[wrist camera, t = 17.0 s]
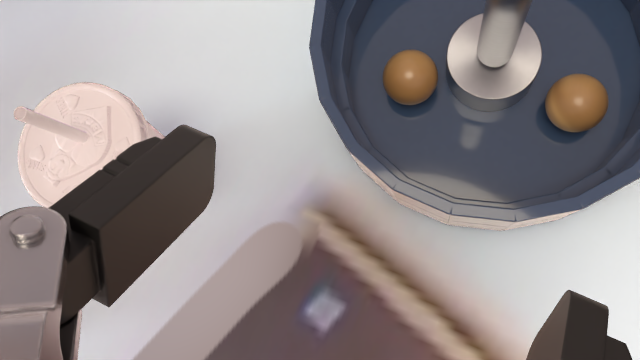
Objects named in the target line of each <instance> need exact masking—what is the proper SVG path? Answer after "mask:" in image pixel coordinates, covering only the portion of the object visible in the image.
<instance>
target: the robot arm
mask: <svg viewBox="0 0 640 360" xmlns="http://www.w3.org/2000/svg"><path fill="white" fill-rule="evenodd" d="M215 152H216V142H215V139H214V137H212V136H210V135H208V134H205V133H203V132H201V131H198V130H196V129H194V128H191V127H189V126H187V125H181V126H179V127H177V128H176V129H175V130H173V131H172V132H171V133H170V134H168V135H167V136H166V137H165V138H163V139H160V138H158V137H156V136H155V137H152V138H149V139H146V140H144V141H141V142H138V143H135V144H133V145H131V146H130V147H129V148H127V149H126V150H125V151H123V152H122V153H121V154H119V155H118V156H117V157H116V159H115V160H114V159H113V160H112V161H110V162H109V163H108V164H106V165H105V166H104V167H103V169H102V170H98V171H97V172H96V173H94V174H93V175H92V176H90V177H89V178H88V179H86V180H85V181H84V182H82V183H81V184H80V185H78V186H77V187H76V188H74V189H73V190H72V191H70V192H69V193H68V194H66V195H65V196H64V197H62V198H61V199H60V200H58V201H57V202H56V203H55V204H53V205H52V206H50V207H49V208H46V207H34V206H33V207H24V208H19V209H16V210H13V211H10V212H8V213H6V214H4V215H3V216H1V217H0V360H77V358H78V348H79V339H80V329H81V319H82V310H81V309H82V308H83V307H84V306H85V305H86V304H87V303H88V302H89V301H90V300H91V299H94V300H96V301H98V302H100V303H102V304H104V305H106V306H108V307H110V306H111V305H112V304H113V303H114V302H115V301H116V300H117V299H118V298H119V297H120V296H121V295H122V294H123V293H124V292H125V291H126V290H127V289H128V288H129V287H130V286H131V285H132V284H133V282H134V281H135V280H136V279H137V278H138V277H139V276H140V275H141V274H142V273H143V272H144V271H145V270H146V269H147V268H148V267H149V266H150V265H151V264H152V263H153V262H154V261H155V260H156V259H157V258H158V257H159V256H160V255H161V254H162V253H163V252H164V251H165V250H166V249H167V248H168V247H169V246H170V245H171V244H172V243H173V242H174V241H175V240H176V239H177V238H178V237H179V236H180V235H181V234H182V233H183V232H184V230H185V229H186V228H187V227H188V226H189V225H190V224H191V223H192V222H193V221H194V220H195V219H196V218H197V217H198V216H199V215H200V214H201V213H202V212H203V211H204V210H205V208H206V207H207V205H208V203H209V201H210V199H211V196H212V193H213V189H214V172H215ZM608 315H609V310H608V307H607V306H606V305H604V304H601V303H599V302H597V301H594V300H592V299H590V298H587V297H585V296H582V295H580V294H578V293H575V292H573V291H571V290H568V291H566V292H565V294H564V295H563V296H562V298H561V299H560V301H559V302H558V304H557V305H556V307H555V308H554V310H553V311H552V313H551V314H550V316H549V317H548V319H547V320H546V322H545V323H544V325H543V326H542V328H541V329H540V331H539V332H538V334H537V335H536V337H535V339H534V341H533V343H532V345H531V348H530V350H529V353H528V356H527V359H526V360H632V358H631V355H630V353H629V350H628V348H627V345H626V344H625V343H623V342H621V341H618V340H616V339H614V338H612V337H609V336H607V327H608Z"/></svg>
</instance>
